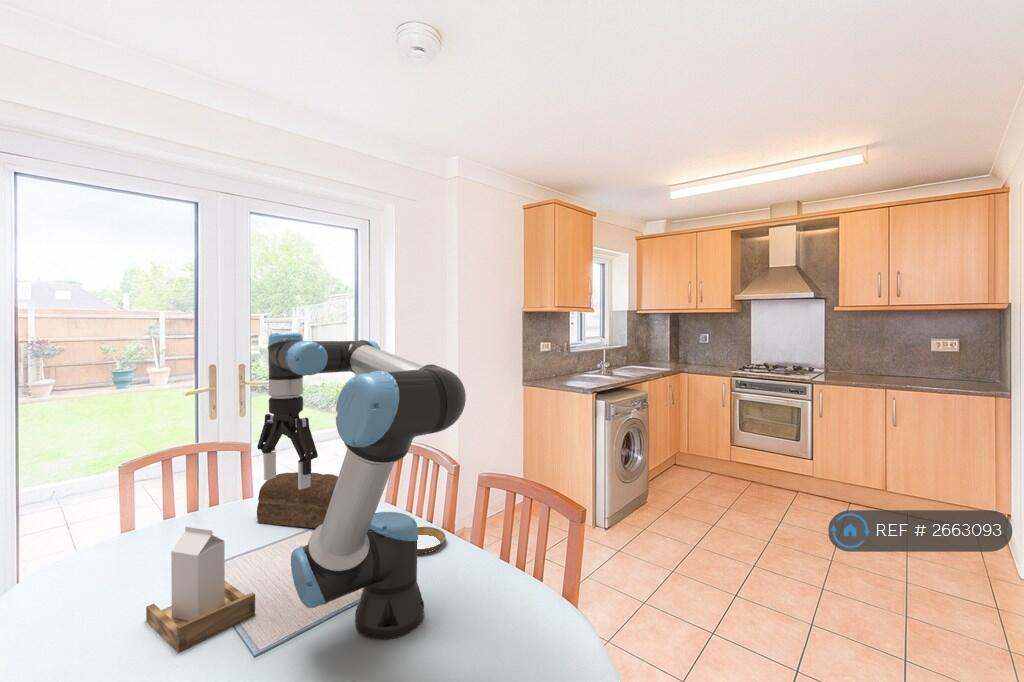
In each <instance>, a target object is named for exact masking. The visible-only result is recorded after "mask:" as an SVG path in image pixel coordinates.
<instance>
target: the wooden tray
mask: <svg viewBox="0 0 1024 682" xmlns="http://www.w3.org/2000/svg"><path fill="white" fill-rule="evenodd" d="M145 608H146V609H145V611H146V612H145V613H146V615H145V617H146V618H145V619H146V620H145V621H146V622H147V623H148V624H149V625H150V626H151V627H152V628H153V629H154V630H155V631H156V632H157V633H158V634H159V635H160V636H161V637H162V638H163V639H164V640H165V641H166V642H167V643H168V644H170V646H171V647H172V648H173V649H174V650H175V651H176V652H177V653H178V654H179V653H181V652H183V651H185V650H187V649H190V648H192V647H194V646H196V645H198V644H200V643H202V642H203V641H207V640H208V639H210V638H213V637H215V636H216V635H218V634H220V633H222V632H224V631H227V630H228V629H230V628H232V627H235V626H236V625H239V624H241V623H242V622H244V621H246V620H249V619H250V618H253V617H256V593H254V592H250V593H248V594H245V593H243V592H242V591H241V590H239V589H238V588H236V587H235V586H233V584H230V583H229V582H228V581H226V580H225V604H224V605H222V606H221V607H219V608H217V609H215V610H212V611H210V612H208V613H206V614H203V615H201V616H199V617H197V618H194V619H192V620H190V621H186V620H181V619H176V618H172V605H171V606H168V607H166V608H163V609H160V607H159V606H157V605H156V604H155V603H152V604H149V605H147V606H146V607H145Z"/></svg>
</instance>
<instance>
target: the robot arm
mask: <svg viewBox="0 0 1024 682" xmlns="http://www.w3.org/2000/svg"><path fill="white" fill-rule="evenodd" d="M267 351H268V352H267V353H268V355H267V356H268V396H270V397H269V399H268V413H266V414H265V415H264V423H263V426H262V430H261V434H260V436H259V440H258V444H257V446H256V447H257V449H258V450H261V453H262V454H263V480H264V481H267V480H269V479H272V478H276V475H277V452H276V447H277V444H279V441H280V439H281V438H282V436H283V435H284V436H285V437H287V439H290V441H291V443H292V444H293V447H294V449H295V451H296V453H297V456H298V458H299V460H298V462H297V472H298V489H300V490H301V489H304V488H307V487H310V474H311V473H312V460H314V459H317V458H318V457H319V455H318V451H317V447H316V444H315V441H314V439H313V438H314V437H313V435H312V431H311V428H310V419H309V417H302V418H300V413H302V412H303V410H304V397H303V396H302V394H303V393H304V392H303V391H304V390H303V389H304V388H303V386H304V385H303V382H304V381H303V378H304V377H305V376H315V375H317V374H329V373H330V374H332V373H348V372H350V373H353V374H355V375H354V376H353V377H351V378H350V379H348V381H347V382H346V383H345V384H344V385H343V387H342V388H341V390H340V391H339V395H338V398H337V402H336V405H335V411H336V412H337V413H336V416H335V424H336V429H337V430H336V431H337V433H338V436H339V437H340V439H341V440H342V442H343V443H344V444H343V445H344V446H345V447H346V452H345V455H344V459H343V462H342V465H341V467H340V470H339V472H338V473H339V474H338V475H337V476H338V479H337V482H336V486H335V489H334V492H333V495H332V498H331V501H330V504H329V507H328V510H327V513H326V516H325V519H324V522H323V524H321V525H320V526H318V527H317V528H314V530H313V531H312V533H311V535H310V537H309V539H308V542H307V544H306V545H300V546H298V547H297V548H295V549H293V550H292V552H291V555H290V568H291V569H290V570H291V575H292V580H293V583H294V587H295V591H296V593H297V596H298V598H299V600H300V602H301V603H302V604H303V606H304V607H305V608H307V609H308V608H309V609H313V608H316V607H319V606H322V605H324V606H325V605H327V604H328V603H330V602H333V601H335V600H338V599H340V598H342V597H345V596H348V595H349V594H352V593H354V592H356V591H359V590H361V589H362V592H361V595H360V599H359V603H358V605H357V607H356V608H355V609H356V610H355V614H354V626H355V628H356V630H357V632H358V633H359V634H360V635H362V636H364V637H366V638H369V639H372V640H391V639H396V638H400V637H403V636H406V635H408V634H410V633H412V632H413V631H414V630H416V629H417V628H418V627H419V626H420V625H421V623H422V622H423V621H424V616H425V603H424V600H423V597H422V592H421V589H420V586H419V583H418V554H417V540H418V531H417V527H418V524H417V521H416V520H415V518H413V517H411V516H410V515H408V514H406V513H402V512H398V511H397V512H396V511H379V512H378V511H377V510H378V506H379V504H380V501H381V498H382V496H383V494H384V491H385V489H386V486H387V483H388V481H389V478H390V475H391V473H392V471H393V467H394V465H395V463H397V462H398V461H401V460H402V459H404V458H405V456H407V454H408V452H409V450H410V447H411V445H412V443H413V440H414V439H415V438H416V437H420V436H425V435H426V436H427V435H430V434H435V433H439V432H443V431H445V430H447V429H449V428H450V427H452V425H454V424H455V423H456V422H457V421H458V420H459V419H460V418H461V415H462V414H463V411H464V409H465V407H466V401H467V395H466V394H467V393H466V389H465V386H464V384H463V382H462V380H461V378H459V376H458V375H457V374H455V373H454V372H453V371H451V370H449V369H447V368H444V367H441V366H438V365H436V364H424V365H422V364H419V363H416V362H414V361H412V360H409V359H406V358H403V357H400V356H398V355H395V354H394V353H393V354H392V353H390V352H388V351H385V350H382V349H381V347H380V346H379V344H378V343H377V342H376V341H375V340H374V341H373V340H365V339H360V340H341V341H340V340H325V341H324V340H319V341H317V340H313V341H312V340H309V341H308V340H304V339H303V335H302V333H300V332H273V333H271V334H269V336H268V345H267ZM376 511H377V512H376Z"/></svg>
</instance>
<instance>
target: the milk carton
mask: <svg viewBox="0 0 1024 682" xmlns="http://www.w3.org/2000/svg"><path fill="white" fill-rule="evenodd" d="M184 528H185V529H184V530H185V531H184V532H183V534H182V535H181V537H180V538H179V539H178V540H177V542H176V543H175V545H174V547H173V548H172V549H171V550H170V551H171V554H170V555H171V556H170V557H171V558H170V559H171V569H170V570H171V606H172V618H176V619H181V620H186V621H190V620H192V619H194V618H197V617H199V616H201V615H203V614H206V613H208V612H210V611H212V610H215V609H217V608H219V607H221V606H222V605H224V604H225V581H226V580H225V577H226V576H225V575H226V574H225V572H226V571H225V566H226V565H225V556H226V555H225V553H226V552H225V547H226V544H225V540H223V539H221V538H219V537H218V536H215V535H213V534H214V531H213V530H212V529H208V528H201V527H193V526H188V525H187V526H186V525H185V527H184Z"/></svg>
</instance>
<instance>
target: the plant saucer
mask: <svg viewBox="0 0 1024 682" xmlns="http://www.w3.org/2000/svg"><path fill="white" fill-rule="evenodd" d="M417 531H418V535H429V536H434V537H436V538H437V539H438V540H439V541H440V544H438V545H436V546H434V547H430V548H425V549H417V553H423V554H426V553H425V552H428V553H430V552H429V551H431V552H433V551H435V550H437V549H438V548H439V547H440V546H441V545H442V544H443V543H444V542H445V539H446V533H445V532H444V531H443V530H441V529H439V528H437V527H432V526H417ZM434 549H435V550H434ZM432 550H433V551H432Z"/></svg>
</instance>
